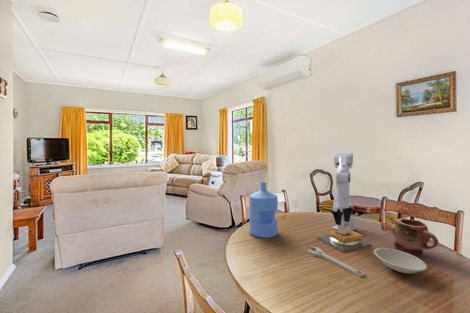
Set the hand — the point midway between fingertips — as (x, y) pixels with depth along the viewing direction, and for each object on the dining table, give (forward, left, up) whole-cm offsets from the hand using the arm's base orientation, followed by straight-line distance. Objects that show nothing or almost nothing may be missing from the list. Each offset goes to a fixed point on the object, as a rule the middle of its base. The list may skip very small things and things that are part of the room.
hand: (342, 223), depth 113 cm
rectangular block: (0, +1, -7) cm, 7 cm away
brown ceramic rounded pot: (-19, +21, -10) cm, 30 cm away
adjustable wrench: (+20, +13, -10) cm, 26 cm away
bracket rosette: (0, +1, -9) cm, 9 cm away
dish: (+1, +28, -10) cm, 30 cm away
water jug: (+31, -25, -10) cm, 41 cm away
